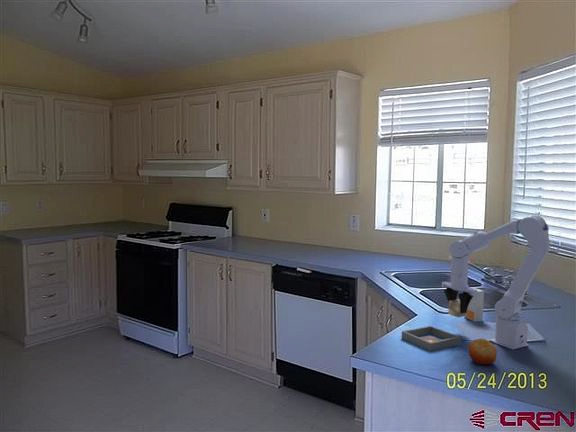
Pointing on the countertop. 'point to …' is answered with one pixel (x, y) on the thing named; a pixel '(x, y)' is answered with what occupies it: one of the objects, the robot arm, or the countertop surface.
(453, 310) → the birch block
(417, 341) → the low pen
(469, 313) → the skincare box
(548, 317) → the countertop surface
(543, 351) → the countertop surface
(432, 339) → the coaster
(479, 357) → the fruit
